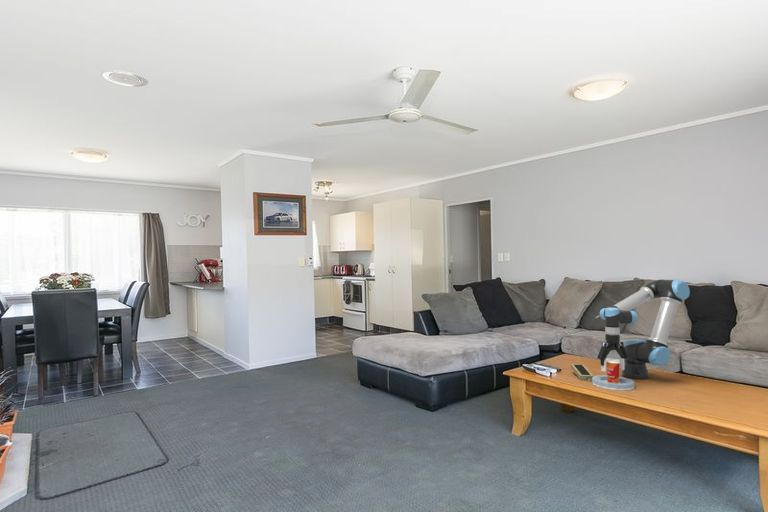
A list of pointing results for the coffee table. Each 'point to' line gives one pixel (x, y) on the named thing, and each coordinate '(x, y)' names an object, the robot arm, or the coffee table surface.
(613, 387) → the ring tray
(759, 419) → the coffee table surface
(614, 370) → the paper cup
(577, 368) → the box
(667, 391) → the coffee table surface
